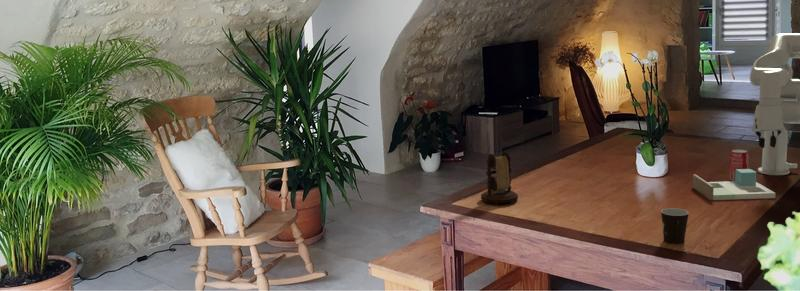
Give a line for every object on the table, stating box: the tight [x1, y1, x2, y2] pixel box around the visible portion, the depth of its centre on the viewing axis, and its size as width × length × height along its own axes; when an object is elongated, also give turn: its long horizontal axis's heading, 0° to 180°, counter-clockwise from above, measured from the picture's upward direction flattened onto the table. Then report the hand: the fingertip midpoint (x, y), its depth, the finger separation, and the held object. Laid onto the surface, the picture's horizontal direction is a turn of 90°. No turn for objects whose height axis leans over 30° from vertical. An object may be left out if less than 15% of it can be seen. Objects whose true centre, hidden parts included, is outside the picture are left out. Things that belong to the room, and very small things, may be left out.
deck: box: [692, 173, 777, 201], centre depth 319 cm, size 25×20×6 cm
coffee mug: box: [660, 207, 690, 245], centre depth 262 cm, size 12×9×10 cm
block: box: [735, 168, 758, 186], centre depth 323 cm, size 6×6×6 cm
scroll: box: [480, 151, 519, 206], centre depth 318 cm, size 15×15×20 cm
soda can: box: [729, 148, 750, 181], centre depth 335 cm, size 7×7×13 cm
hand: (767, 146), depth 320 cm, fingers open, 3 cm apart
